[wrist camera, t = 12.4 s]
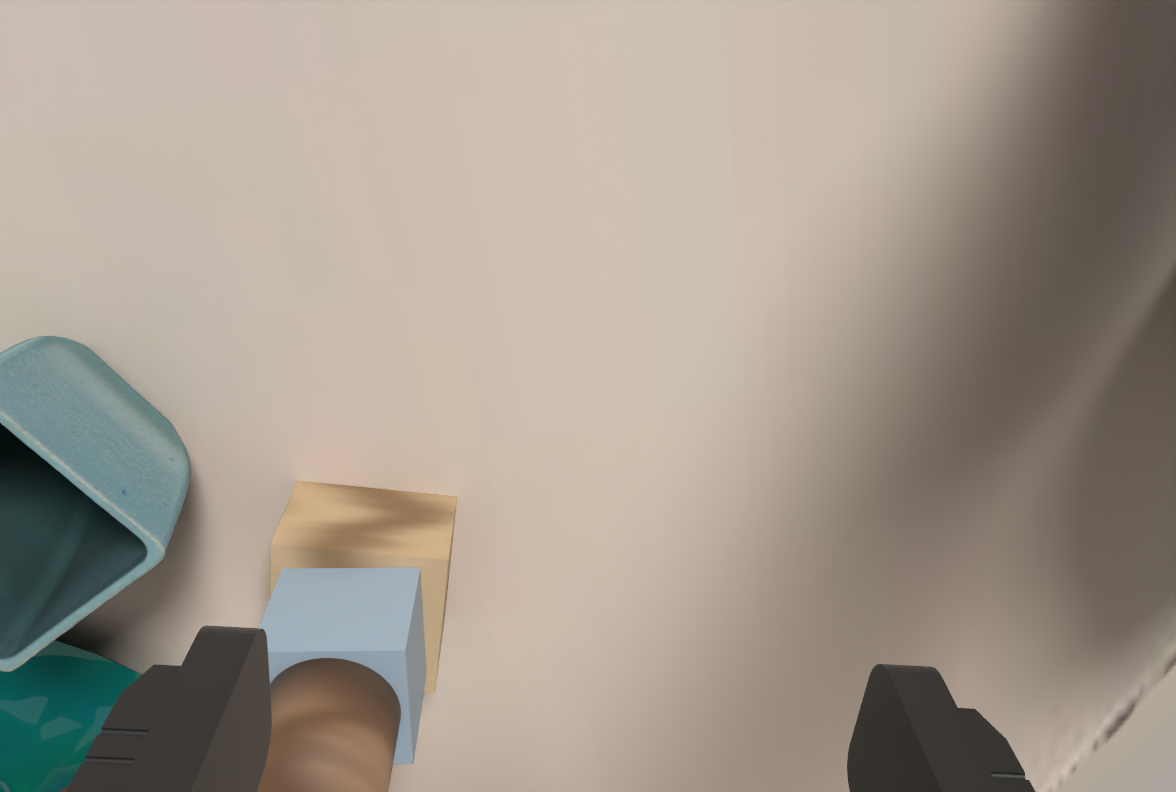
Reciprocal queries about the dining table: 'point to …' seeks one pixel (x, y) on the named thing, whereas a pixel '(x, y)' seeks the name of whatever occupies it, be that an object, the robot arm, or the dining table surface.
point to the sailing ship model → (54, 715)
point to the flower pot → (77, 490)
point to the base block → (372, 542)
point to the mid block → (354, 630)
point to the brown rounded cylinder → (331, 729)
